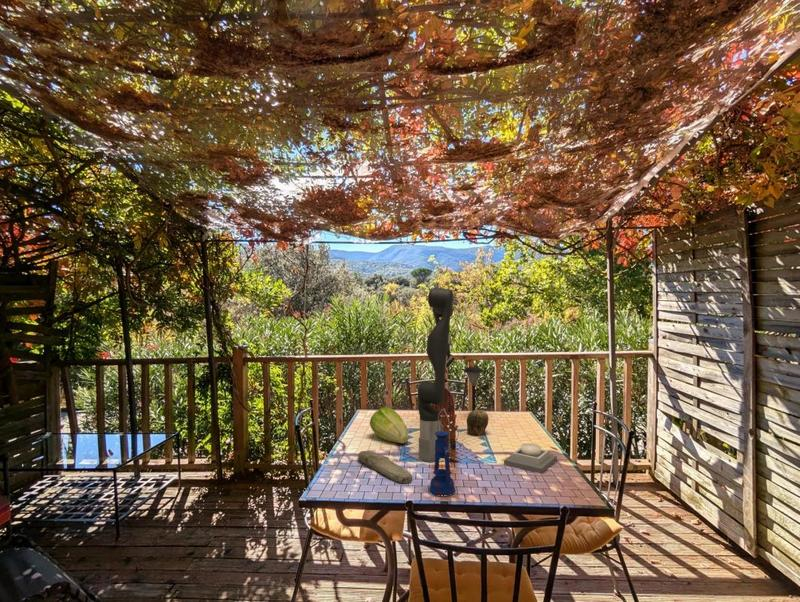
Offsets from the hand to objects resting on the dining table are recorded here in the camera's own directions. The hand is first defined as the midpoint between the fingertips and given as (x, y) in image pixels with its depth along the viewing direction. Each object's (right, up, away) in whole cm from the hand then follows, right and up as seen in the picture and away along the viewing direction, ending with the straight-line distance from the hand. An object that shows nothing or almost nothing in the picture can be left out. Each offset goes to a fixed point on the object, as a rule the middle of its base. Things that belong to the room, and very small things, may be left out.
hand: (442, 375), depth 237 cm
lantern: (-7, -30, -71) cm, 78 cm away
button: (+33, -26, -44) cm, 61 cm away
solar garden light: (+19, -29, +20) cm, 40 cm away
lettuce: (-26, -30, -12) cm, 42 cm away
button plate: (+33, -30, -44) cm, 63 cm away
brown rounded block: (+17, -29, -4) cm, 34 cm away
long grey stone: (-29, -31, -50) cm, 65 cm away
